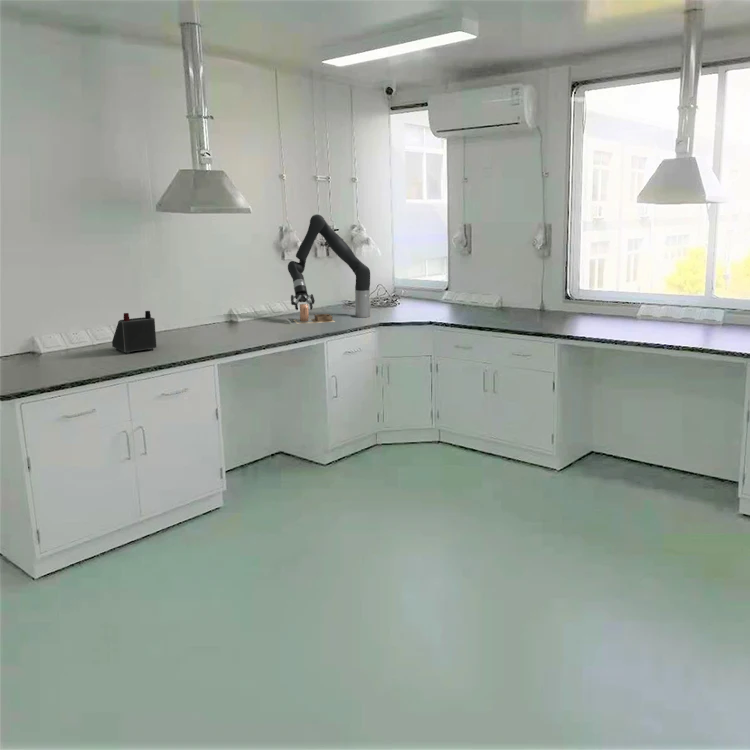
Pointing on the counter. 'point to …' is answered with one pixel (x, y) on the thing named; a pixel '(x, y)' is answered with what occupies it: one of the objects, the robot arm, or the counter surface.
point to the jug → (304, 312)
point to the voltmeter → (135, 334)
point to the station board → (317, 319)
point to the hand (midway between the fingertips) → (304, 309)
